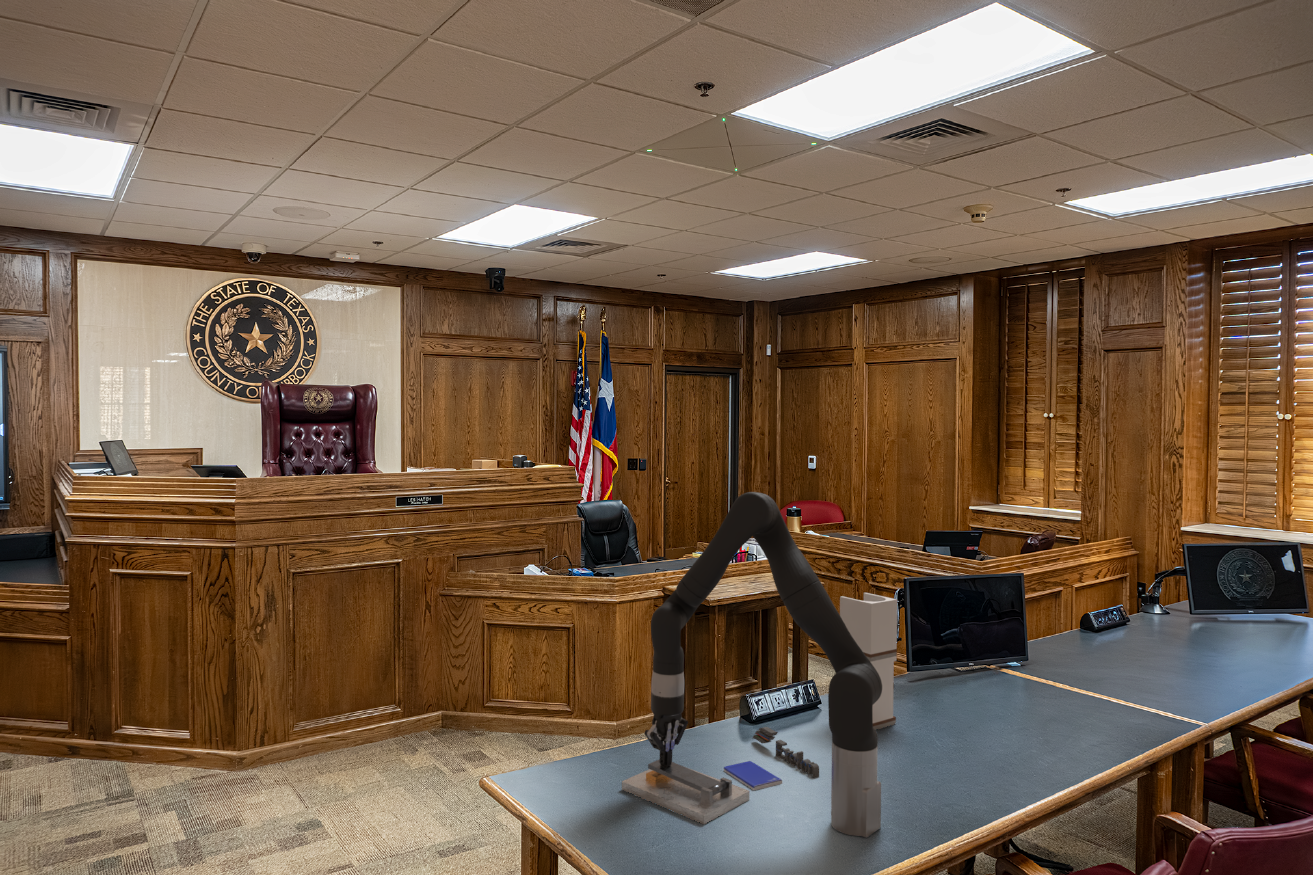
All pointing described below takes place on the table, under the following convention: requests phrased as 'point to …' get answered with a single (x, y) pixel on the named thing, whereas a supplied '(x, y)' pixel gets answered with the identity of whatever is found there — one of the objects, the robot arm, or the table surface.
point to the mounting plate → (685, 795)
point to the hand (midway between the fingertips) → (665, 765)
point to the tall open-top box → (875, 644)
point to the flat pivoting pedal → (688, 777)
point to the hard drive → (752, 775)
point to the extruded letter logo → (787, 752)
